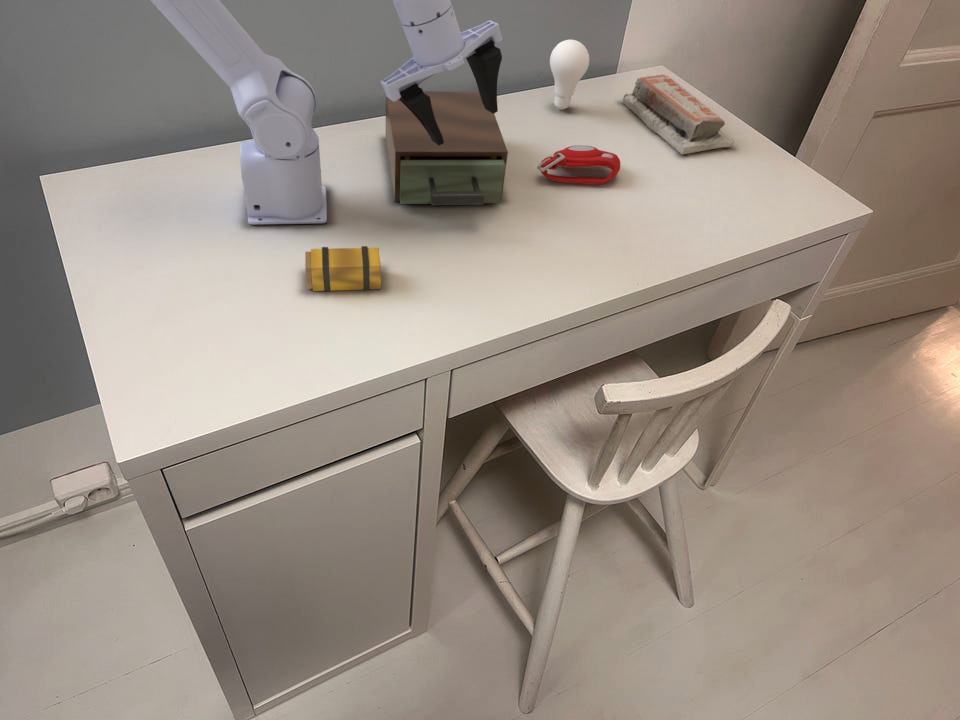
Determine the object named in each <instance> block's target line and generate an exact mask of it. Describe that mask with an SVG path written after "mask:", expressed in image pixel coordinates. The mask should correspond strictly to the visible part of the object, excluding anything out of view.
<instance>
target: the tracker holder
mask: <svg viewBox="0 0 960 720" xmlns="http://www.w3.org/2000/svg"><path fill="white" fill-rule="evenodd" d="M559 166H560V167H563V168H585V167H586V168H588V167H589V168H590V167H605V168H607V169H610V170H611V172H610V174H609V175H608V176H605V177H604V176H603V177H602V176H600V177H599V176H573V175H572V176H571V175H555V174H551V173H548V170H552V171H553V170H557V169H558V167H559ZM536 169H537V170H538V171H539V172H540V173H541V174H542V175H543V176H544V177H545V178H546V179H548V180H551V181H553V182H558V183H564V184H565V183H566V184H585V185H588V184H590V185H603V184H606V183H608V182H610V181H611V180H613V179H614V178H615V177H616V176H617V175H618V173H619V172H620V170H621V160H620V157H619V155H617V154H616V153H613V152H610V151H606V150H600V149H598V148H597V147H594V146H591V145H578V144H577V145H570V146H568V147H565V148H563V149H561V150H557V151H555V152H554V153H553V156H547V157H544V159H542V160H541V162H540V163H539V164H538V165H537V166H536Z"/></svg>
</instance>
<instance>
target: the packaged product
mask: <svg viewBox="0 0 960 720" xmlns="http://www.w3.org/2000/svg"><path fill="white" fill-rule="evenodd" d="M634 84H635V86H634V88H633V89H632V93H625V94H624V95H623V97H622V103H623V104H624V106H626V107H627V108H628V109H630V110H631V112H633V113H634V114H635V115H636V116H637V117H638V118H639V119H640V120H641V121H642V122H643V123H644V124H645V125H646V126H647V127H648V129H650V130H651V131H653V132H654V133H656V134H657V135H658V136H660V137H661V138H662V139H663V140H664V141H665V142H666V143H667V144H669V145H670V146H671V147H672V148H674V149H675V150H676V151H677V152H678V153H679V154H680V155H688V154H694V153H698V152H703V151H709V150H714V149H715V150H716V149H720V148H731V147H732V146H733V144H734V142H735V140H733V139H732V138H730V137H729V136H728V134H727V133H725V132H724V131H722V130H721V129H722V128H723V127H724V126H725V125H726V122H725V120H723V118H722V117H720V116H719V115H718V114H717V113H716V112H714V111H713V110H711V108H709V107H707V106H706V105H705V104H704V103H703V102H701V101H700V100H699V98H697V97H696V96H694V95H693V94H692V93H691V92H689V91H688V90H687V89H686V88H684V87H683V86H682V85H681V84H679V83H678V82H677V81H675V79H673V77H670V76H669V75H665V74H657V75H647V76H641V77H639V78H637V79H636V81H635V83H634Z"/></svg>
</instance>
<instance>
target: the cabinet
mask: <svg viewBox="0 0 960 720" xmlns="http://www.w3.org/2000/svg"><path fill="white" fill-rule="evenodd" d="M423 93H425V94H426V95H428V96H430V100H431V105H432V110H433V113H434V117H435V120H436V123H437V125H438V127H439V130H440V132H441V134H442V137H443V141H444V143H443V144H441V145H437V144H436V143H435V142H433V141H432V139H431V138H430V136H429V134H428V132H427V131H426V129H425V128H424V127H423V125H422V124H421V122H420V121H419V120H418V119H417V118H416V116H415V115H414V114H413V113H412V112H411V111H410V110H409V109H408V108H407V107H406V106H405V105H404V104H403V103H402V102H401V101H400V100H399V99H398V100H396V101H395V102H393V101H392V100H390V99H389V98H388V97H387V96H386V95H385V144H386V152H387V157H388V167H389V172H390V179H391V186H392V193H393V200H394V202H395V203H400V160H401V156H497V160H504V163H505V169H504V176H503V184H502V191H501V199H500V202H501V201H502V197H503V191H504V185H505V177H506V169H507V162H508V161H507V160H508V154H509V151H508V148H507V146H506V143H505V140H504V137H503V134H502V131H501V129H500V125H499V123H498V121H497V118H496V115H495V113H494V114H493V113H491V112H489V111H488V110H486V109H485V107H484V105H483V102H482V100H481V96H480V93H479V91H429V90H428V91H427V90H426V91H425V90H423Z"/></svg>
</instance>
